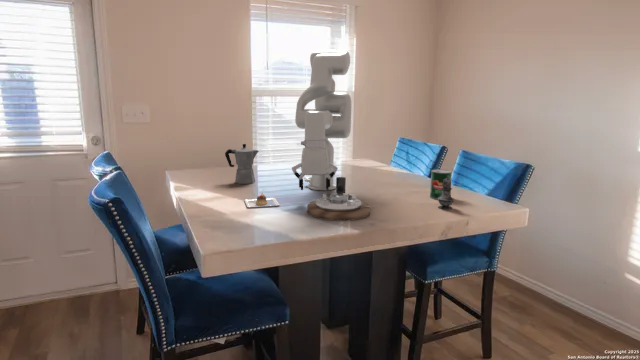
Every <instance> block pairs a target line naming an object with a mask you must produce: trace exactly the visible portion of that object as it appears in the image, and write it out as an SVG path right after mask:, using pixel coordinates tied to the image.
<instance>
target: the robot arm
mask: <svg viewBox="0 0 640 360" xmlns="http://www.w3.org/2000/svg"><path fill="white" fill-rule="evenodd" d="M309 61H310V62H309V64H310V68H311V73H310V74H311V75H310V84H309V86H308V87H307V88H306V89H305V90H304V91H303V92H302V93H301V95H299V97H298V100H297V102H296V109H295V118H294V121H295V124H296V126H297V128H298V129H302V130H303V129H304V140H303V141H302V140H301V141H300V146H304V147H303V148H302V152H301V161H300V163H298V164H296V165H293V166H292V167H291V171H292V173H293V174H294V176H295V177H296V178H297V179H298V187H299V188H300V190H301V191H303V190H304V182H307V183H309V184H308V186H307V187H308V188H309V189H310V190H313V191H330V190H331V191H333V190H336V183H334V176H335V174H336V173H337V171H338V168H339V167H337V166H336V165H334V164H335V163H334V161H335V160H334V157H335V155H334V153H335V151H334V150H335V149H334V145H333V144H332V143H331V142H330V140H329V139H347V138H348V137H350V134H351V129H352V97H351V95H350V94H349V93H347V92H342V91H341V92H340V91H339V92H338V91H336V82H335V80H334V78H333V76H345V75H346V74H347V73H348V71H349V68H350V65H351V55H350V52H349V51H348V50H346V49H344V50H343V49H337V50H336V49H321V50H315V51H312V53H311V54H310V58H309ZM313 101H314V108H315V109H314V108H312V109H309V108H308V109H305V108H306V106H307V105H308V104H309V103H310V102H313ZM298 169H300V171H301V172H300V173H298V171H297V170H298ZM303 178H304V179H303Z"/></svg>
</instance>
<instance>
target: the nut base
mask: <svg viewBox="0 0 640 360" xmlns="http://www.w3.org/2000/svg"><path fill="white" fill-rule="evenodd" d="M370 208H371V207H370V205H369V204H367V202H363V201H361V208H359V209H357V210H353V211H345V212H336V211H327V210H322V209H319V208H317V207H316V200H314V201H311V202H309V203H307V205H306V213H307V214H308V215H310V216H311V217H312V218H316V219H320V220H325V221H326V220H327V221H341V222H342V221H354V220H360V219H363V218H366V217H368V216H369V215H370Z"/></svg>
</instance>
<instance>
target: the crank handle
mask: <svg viewBox="0 0 640 360" xmlns="http://www.w3.org/2000/svg"><path fill="white" fill-rule="evenodd" d="M335 179H336V181H335V184H336V189H335V193H333V194H331V193H327V192H326V193H325V192H324V193H322V197H319V198H317V199H316V200H315V201H316V207H317V208H319V209H322V210H327V211H336V212H345V211H353V210H357V209H359V208H361V202H362V201H361V200H360V199H359V198H357V195H356V194H354V193H350V194H347V195H346V177H345V176H336V177H335Z"/></svg>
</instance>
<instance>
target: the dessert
mask: <svg viewBox="0 0 640 360" xmlns="http://www.w3.org/2000/svg"><path fill="white" fill-rule="evenodd" d="M268 201H272V202H273V205H268ZM249 202H255V205H256V206H255V205H253V206H251V205H250V203H249ZM244 203H245V205H246V207H247V208H248V209H254V208H255V209H256V208H273V207H279V206H281V204H280V203H279V202H278V200H277V199H276V198H275V197H266V194H265V193H264V192H261V194H260V195H258V196H256V198H248V199H247V198H245V199H244Z"/></svg>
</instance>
